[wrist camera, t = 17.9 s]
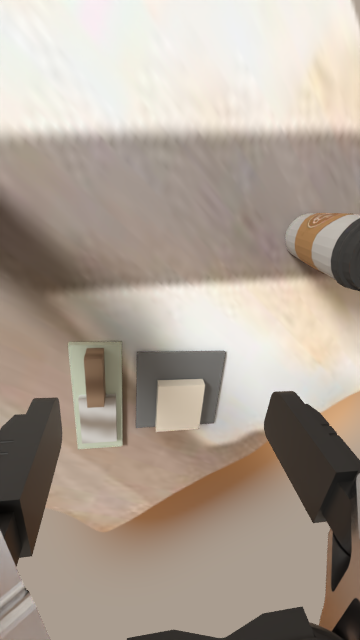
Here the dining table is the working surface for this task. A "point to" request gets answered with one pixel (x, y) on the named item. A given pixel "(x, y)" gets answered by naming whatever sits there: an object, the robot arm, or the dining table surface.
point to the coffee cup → (328, 245)
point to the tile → (179, 404)
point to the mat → (177, 368)
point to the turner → (97, 402)
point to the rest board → (111, 382)
